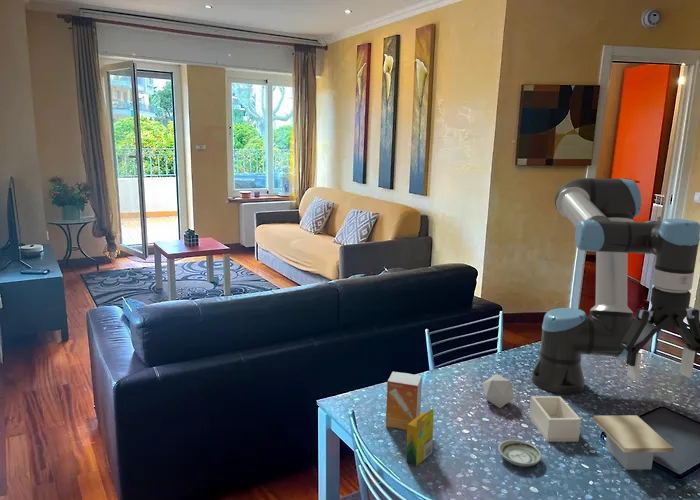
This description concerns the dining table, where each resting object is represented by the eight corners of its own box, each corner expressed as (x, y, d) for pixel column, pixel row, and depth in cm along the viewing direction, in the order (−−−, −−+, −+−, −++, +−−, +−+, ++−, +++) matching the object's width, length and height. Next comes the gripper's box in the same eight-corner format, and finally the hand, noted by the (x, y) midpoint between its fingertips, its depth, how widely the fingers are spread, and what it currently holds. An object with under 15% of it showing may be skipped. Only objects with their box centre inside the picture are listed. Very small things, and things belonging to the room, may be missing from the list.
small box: (385, 427, 134) (386, 380, 132) (390, 415, 140) (392, 370, 138) (416, 432, 132) (418, 385, 129) (420, 420, 138) (422, 375, 135)
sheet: (624, 452, 114) (624, 448, 114) (592, 419, 128) (593, 415, 128) (672, 452, 115) (673, 447, 114) (636, 419, 128) (636, 415, 128)
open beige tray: (547, 441, 129) (549, 419, 128) (529, 416, 140) (530, 396, 139) (578, 441, 129) (581, 419, 128) (558, 416, 141) (560, 396, 140)
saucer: (516, 477, 115) (517, 467, 115) (488, 453, 124) (489, 444, 123) (549, 467, 119) (550, 457, 118) (520, 444, 128) (521, 435, 127)
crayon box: (422, 448, 125) (424, 403, 123) (432, 452, 124) (435, 408, 121) (405, 462, 120) (407, 416, 117) (416, 467, 118) (418, 420, 116)
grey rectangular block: (625, 469, 118) (628, 445, 117) (605, 446, 127) (608, 424, 126) (651, 469, 118) (654, 445, 117) (629, 446, 127) (632, 424, 126)
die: (519, 409, 146) (515, 374, 150) (508, 404, 140) (504, 369, 144) (491, 411, 150) (488, 377, 154) (479, 407, 144) (476, 372, 148)
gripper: (632, 294, 111) (620, 386, 115) (735, 291, 114) (720, 381, 118) (609, 285, 118) (599, 372, 122) (707, 282, 121) (694, 367, 126)
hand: (659, 376), depth 120 cm, fingers open, 13 cm apart
